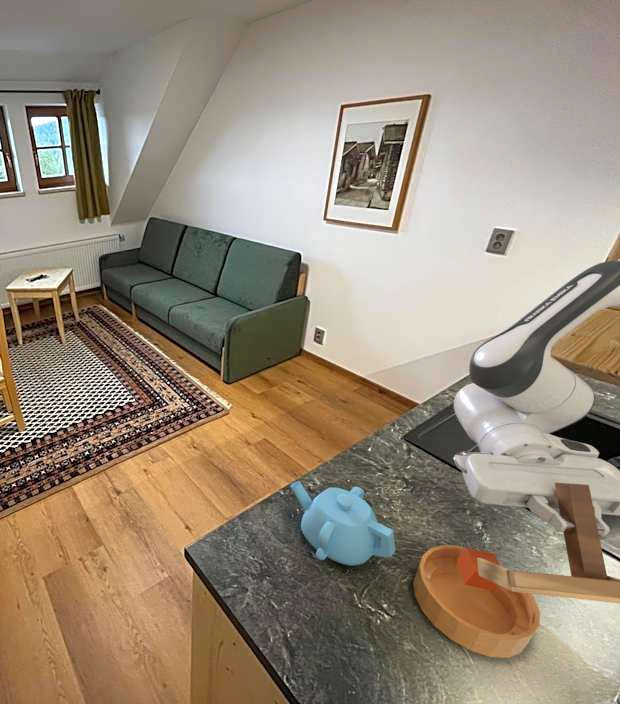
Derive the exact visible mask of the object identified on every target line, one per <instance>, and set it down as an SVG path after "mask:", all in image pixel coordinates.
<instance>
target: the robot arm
mask: <svg viewBox="0 0 620 704" xmlns="http://www.w3.org/2000/svg"><path fill="white" fill-rule="evenodd" d="M608 308H617V309H620V258H619V259H617V260H607V261H603V262H599V263H597V264H595V265H592V266H591V267H588V268H587V269H585V270H583V271H582V272H580V273H579V274H577V275H576V276H574V277H573V278H572V279H570V280H569V281H568V282H566V283H565V284H564V285H562V286H561V287H560V288H558V289H557V290H556V291H554V292H553V293H552V294H551V295H549V296H548V297H547V298H546V299H544V300H543V301H542V302H541V303H539V304H538V305H536V306H535V307H534V308H533V309H531V310H530V311H529V312H528V313H526V314H525V315H524V316H523V317H521V318H520V319H519V320H518V321H516V322H515V323H514V324H512V325H511V326H509V327H508V328H507V329H504V330H503V331H501V332H500V333H498V334H496V335H495V336H493V337H491V338H490V339H489V338H488V340H486V341H484V342H483V343H482V344H480V345H479V346H478V347H477V348H476V349H475V351H474V352H473V353H472V355H471V357H470V360H469V366H468V373H469V377H470V380H471V382H472V383H469V384H467V385H465V386H463V387H462V388H460V389H459V390H458V391H457V392H456V394H455V395H454V398H453V399H454V400H453V410H454V413H455V416H456V418H457V420H458V422H459V423H460V426H461V427H462V429H463V431H464V432H465V433H466V434H467V436H468V437H469V439H471V440H472V441H473V442H474V443H476V445H477V448H478V450H479V452H478V451H477V452H472V451H465V450H463V451H459V453H456V454H454V455H453V462H454V464H455V466H456V467H457V468H458V469H459V470H460V471H461V473H462V477H463V480H464V483H465V485H466V488H467V489H468V492H469V493H470V495H471V497H472V498H473V499H475V500H476V501H478V502H479V503H481V504H484V505H495V506H505V507H506V506H507V507H519V508H528V510H530V512H531V513H533V514H534V515H536V516H538V517H539V518H541V519H542V520H544V521H545V522H547V523H549V524H550V526H551V527H552V528H553V530H554V531H555V532H557V533H562V534H564V533H572V530H574V529H575V525H574V523H573V522H572V521H570V518H569V517H568V516H567V515H561V514H560V512H558V511H560V510H559V504H558V499H557V493H556V488H555V483H570V484H584V485H589V488H590V493H591V498H592V503H593V508H594V513H595V518H596V523H597V528H598V533H599V537H603V538H605V537H607V536H608V535H609V533H610V532H611V531H610V530H611V529H610V527H609V525H608V524H606V522H605V521H604V520H603V519H602V515H608V516H609V515H610V516H619V517H620V470H619V468H618V467H616V466H615V465H613V464H612V463H610V462H609V461H606V460H604V459H602V458H599V455H600V452H599V450H598V449H597V448H595V447H594V446H593V445H590V444H588V443H583V442H579V441H575V440H570V439H567V438H563V437H559V436H556V435H553V434H554V433H555V432H558V431H560V430H563V429H565V428H567V427H570V426H572V425H575V424H576V423H578V422H579V421H582V420H583V419H584V418H585V417H587V416H588V414H590V412H591V411H592V409H593V407H594V405H595V400H596V395H595V392H594V389H593V388H592V387H591V385H590V384H588V383H587V382H585V381H584V380H583V378H581V377H580V376H578V375H577V374H576V373H574V372H573V371H572V370H571V369H569V368H567V366H565V365H563V364H562V363H561V362H559V361H558V360H557V359H555V358H554V357H553V356H552V348H553V346H554V345H555V344H556V343H557V342H559V341H560V340H562V339H563V337H566V335H567V334H569V333H570V332H572V331H574V330H575V329H576V328H577V327H579V326H580V325H581V324H583V323H584V322H585V321H587V320H588V319H589V318H590V317H592V316H593V315H595V314H596V313H598V312H599V311H602V310H604V309H608Z"/></svg>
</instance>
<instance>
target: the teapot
mask: <svg viewBox="0 0 620 704" xmlns="http://www.w3.org/2000/svg"><path fill="white" fill-rule="evenodd" d="M290 488H291V490H292V492H293V493H294V495H295V498H296V499H297V500H298V502H299V504H300V505H301V507H302V509H303V511H304V513H303V515H302V518H301V522H300V523H301V524H300V529H301V532H302V535H303V536H304V538H305V539H306V540H307V541H308V543H309V544H310V545H311V546H312V547H313V548H314V549H315V550H316V552H315V557H316V558H317V560H319V561H324V560H326V558H327V559H329V560H332V561H334V562H335V563H339V564H342V565H344V566H351V567H352V566H353V567H354V566H360V565H363V564H364V563H366V562H367V561H368V560H369V559H370V558H372V556H376V557H383V558H392V556H393V555H394V553H395V552H396V544H395V535H394V529H392V528H390V527H388V526H386V525H384V524H381V523H379V522H378V519H377V517H376V515H375V512H374V510H373V509H372V507H371V506H370V505H369V503H367V501H365V500H364V499H363V498H364V497H365V496H364V495H365V490H364V489H363V488H362V487H359V486H354V487H352V488H351V490H350V491H349V490H347V489H343V488H340V487H336V486H335V487H328V488H326V489H325V490H323V491H321V492H320V493H319V494H318V495H317V496H316V497H314V498H313V500H312V498H311V497H310V496H309V494H308V492H307V491H306V489H305V487H304V486H303V484H302V483H301V481H295V482H293V483H292V484H290Z"/></svg>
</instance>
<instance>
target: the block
mask: <svg viewBox="0 0 620 704" xmlns="http://www.w3.org/2000/svg"><path fill="white" fill-rule="evenodd" d="M465 548H466V549H465V550H464V551H463V553H462V554H461V555H460V557H459V558H458V559H457V564H458V567H459V569H460V572H461V575H462V578H463V580H464V583H465V585H469V586H474V587H478V588H482V589H487V590H491V591H494V590H495V589H496V588H497V587H498V586H499V585H497V584H495V583H493V582H491V581H489V580H487V579H485V578H482V577H480V576H479V571H478V563H477V558H482V559H484V560H487V561H489V562H492V563H494V564H497V565H499V563H500V562H499V560H498V558H497V556H496V554H495V553H493V552H489V551H484V550H478V549H473V548H469V547H465ZM499 566H500V565H499Z"/></svg>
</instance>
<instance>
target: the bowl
mask: <svg viewBox="0 0 620 704" xmlns="http://www.w3.org/2000/svg"><path fill="white" fill-rule="evenodd" d="M466 548H467V547H464V546H461V545H456V544H455V545H453V544H452V545H450V544H443V545H442V544H441V545H437V546H434V547H430V548H429V549H428V550H427V551H426V552H425V553H423V555H422V557H421V558H420V561H419V564H418V567H417V570H416V573H415V576H414V578H413V581H412V586H413V591H414V597H415V599H416V601H417V603H418V605H419V607H420V610H421V611H422V613H423V614H424V615H425V616H426V617H427V619H428V620H429V621H430V623H432V625H433V626H434V627H435V628H436V629H437V630H439V632H441V633H442V634H443V635H445V636H446V637H447V638H448V639H449V640H451V641H453V642H455V643H456V644H458V645H460V646H461V647H463V648H465V649H466V650H468V651H470V652H473V653H476V654H478V655H482V656H485V657H488V658H499V659H500V658H501V659H509V658H511V657H514V656H516V655H519V654H521V653H522V652H523V651H524V650H525V648H526V647H527V645H529V643H530V641H531V639H532V638H533V637H534V635H535V634H536V632H537V630H538V629H539V627H540V625H541V624H540V623H541V612H540V611H541V610H540V609H539V606H538V604H537V602H536V598H535V596H534V594H530V593H521V592H512V591H510V590H508V589H506V588H504V587H502V586H498V587H497V588H496V589H495V590H494V591H491V590H487V589H482V588H478V587H474V586H469V585H465V583H464V580H463V578H462V575H461V572H460V569H459V567H458V564H457V559H458V558H459V557H460V555H461V554H462V553H463V551H464V550H465V549H466ZM499 565H500V566H502V567H504V568H507V569H509V568H508V567H507V566H505V565H503V564H502V563H500V562H499Z"/></svg>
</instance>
